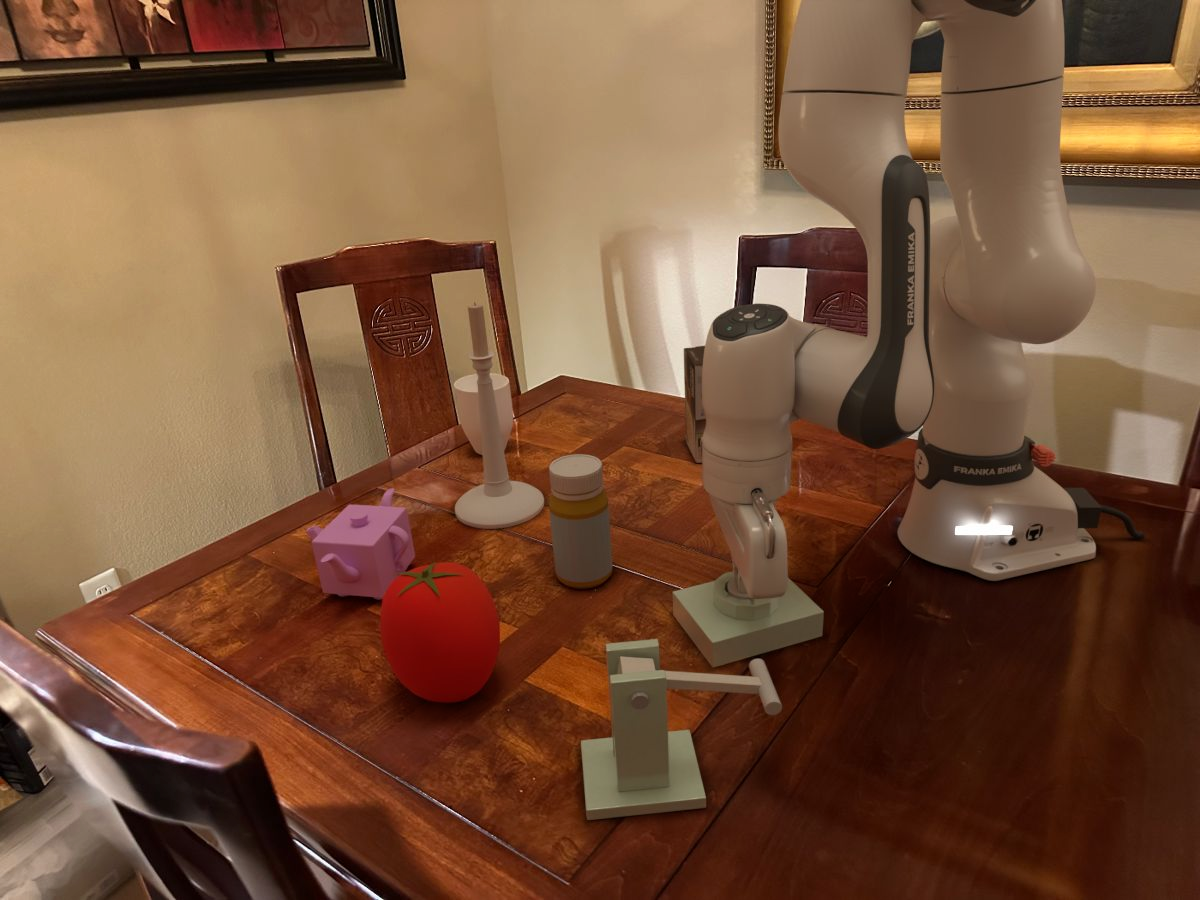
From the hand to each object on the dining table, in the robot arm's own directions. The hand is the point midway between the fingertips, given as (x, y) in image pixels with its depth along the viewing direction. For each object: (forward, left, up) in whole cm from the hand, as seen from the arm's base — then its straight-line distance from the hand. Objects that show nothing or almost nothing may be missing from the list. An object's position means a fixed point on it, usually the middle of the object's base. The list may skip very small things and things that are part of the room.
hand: (744, 585), depth 90 cm
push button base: (0, 0, -5) cm, 5 cm away
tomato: (+32, +5, -5) cm, 33 cm away
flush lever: (+9, +20, +4) cm, 22 cm away
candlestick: (+28, -33, -5) cm, 43 cm away
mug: (+30, -55, -5) cm, 63 cm away
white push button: (0, 0, -2) cm, 2 cm away
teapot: (+44, -16, -5) cm, 47 cm away
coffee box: (-5, -46, -5) cm, 47 cm away
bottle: (+17, -13, -5) cm, 22 cm away
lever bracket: (+14, +20, -5) cm, 25 cm away
